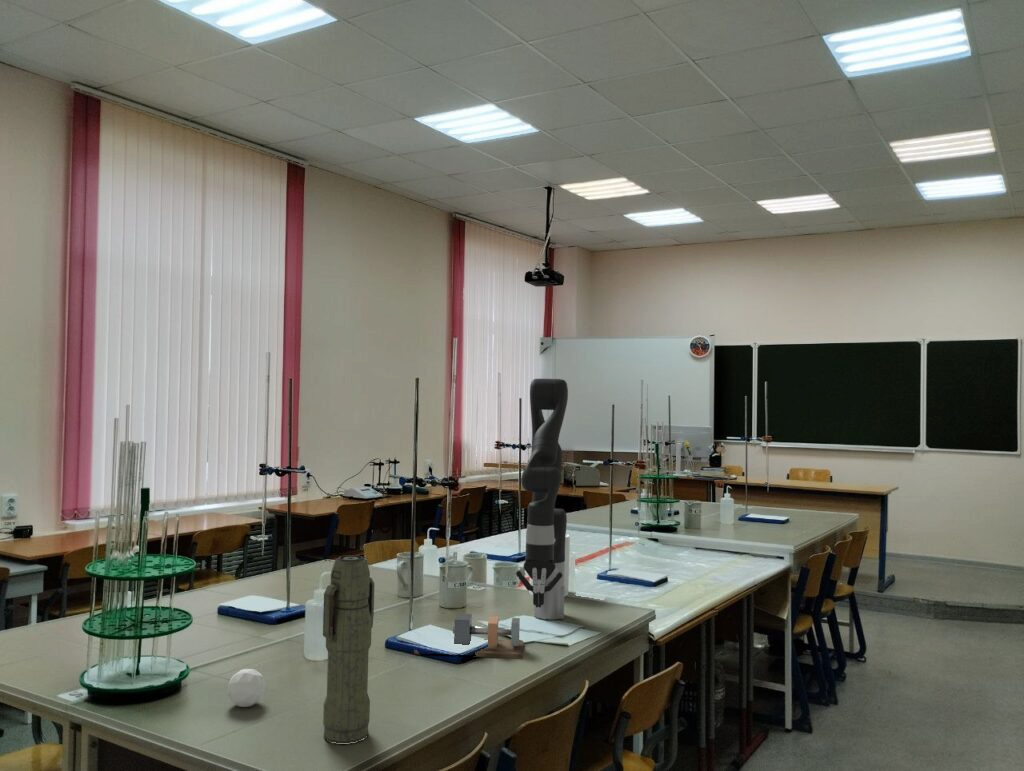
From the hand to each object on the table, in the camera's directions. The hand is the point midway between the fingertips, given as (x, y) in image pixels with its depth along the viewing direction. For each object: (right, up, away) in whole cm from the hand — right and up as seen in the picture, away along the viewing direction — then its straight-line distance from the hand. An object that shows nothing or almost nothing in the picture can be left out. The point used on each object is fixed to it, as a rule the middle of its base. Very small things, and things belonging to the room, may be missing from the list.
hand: (538, 606), depth 214 cm
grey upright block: (-20, -10, +1) cm, 23 cm away
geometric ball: (-64, -10, -41) cm, 77 cm away
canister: (+6, -13, +65) cm, 66 cm away
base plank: (-18, -12, +1) cm, 22 cm away
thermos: (-40, -10, -55) cm, 69 cm away
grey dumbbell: (-14, -10, +1) cm, 17 cm away
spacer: (-12, -10, +1) cm, 16 cm away
